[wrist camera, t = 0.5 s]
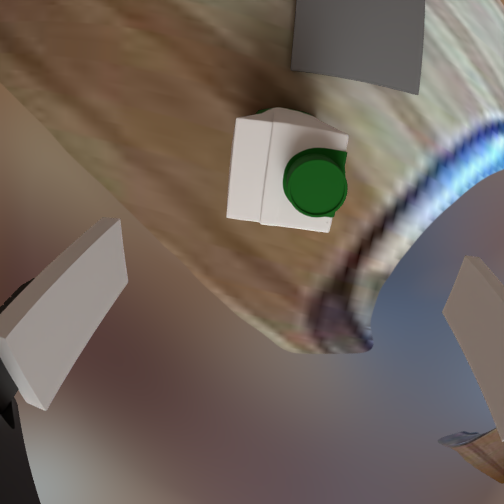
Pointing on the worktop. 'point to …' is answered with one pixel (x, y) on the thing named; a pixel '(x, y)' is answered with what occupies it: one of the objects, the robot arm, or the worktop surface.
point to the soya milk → (286, 170)
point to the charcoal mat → (361, 40)
